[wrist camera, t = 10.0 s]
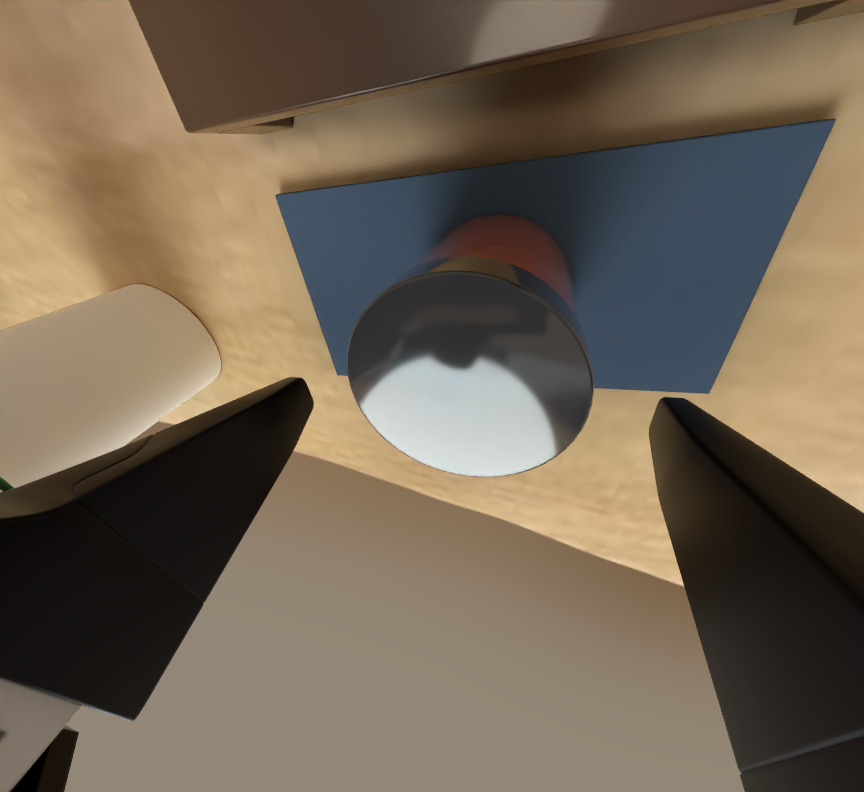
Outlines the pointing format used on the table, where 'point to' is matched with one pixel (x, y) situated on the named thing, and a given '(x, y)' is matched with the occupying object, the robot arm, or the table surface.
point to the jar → (476, 353)
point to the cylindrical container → (95, 378)
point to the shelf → (392, 46)
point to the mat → (586, 241)
